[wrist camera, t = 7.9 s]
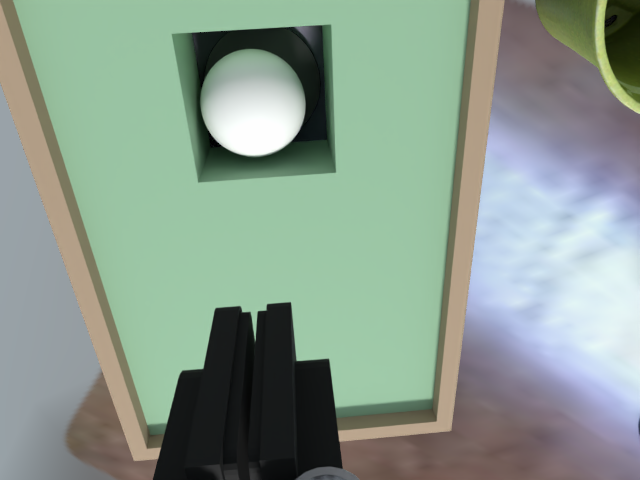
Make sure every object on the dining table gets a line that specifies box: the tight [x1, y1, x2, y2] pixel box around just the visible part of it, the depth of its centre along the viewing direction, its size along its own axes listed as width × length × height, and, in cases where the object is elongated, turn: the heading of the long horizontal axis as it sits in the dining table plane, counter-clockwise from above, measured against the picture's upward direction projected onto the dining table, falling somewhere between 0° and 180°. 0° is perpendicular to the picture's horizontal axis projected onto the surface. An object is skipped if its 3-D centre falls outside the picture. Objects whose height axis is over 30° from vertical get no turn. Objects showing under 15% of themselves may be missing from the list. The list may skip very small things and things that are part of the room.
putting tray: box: [0, 0, 504, 461], centre depth 27 cm, size 20×28×6 cm
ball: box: [200, 49, 306, 157], centre depth 24 cm, size 5×5×5 cm
